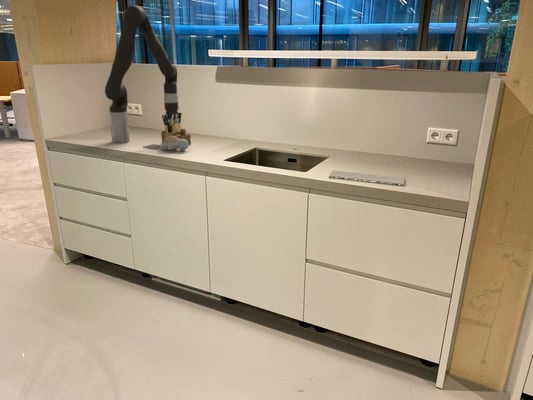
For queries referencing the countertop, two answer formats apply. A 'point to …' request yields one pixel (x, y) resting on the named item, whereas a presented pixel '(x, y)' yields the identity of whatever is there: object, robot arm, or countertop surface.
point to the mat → (153, 146)
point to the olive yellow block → (174, 128)
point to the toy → (174, 143)
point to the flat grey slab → (368, 177)
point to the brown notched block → (177, 135)
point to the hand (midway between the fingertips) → (172, 131)
